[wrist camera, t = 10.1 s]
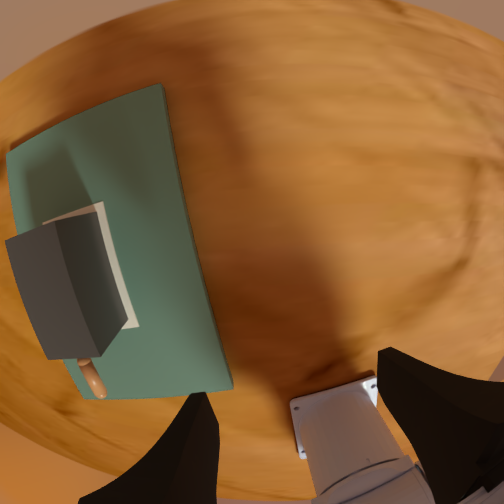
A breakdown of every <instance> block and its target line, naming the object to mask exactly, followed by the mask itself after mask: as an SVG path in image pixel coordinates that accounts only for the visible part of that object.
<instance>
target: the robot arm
mask: <svg viewBox="0 0 504 504" xmlns="http://www.w3.org/2000/svg"><path fill="white" fill-rule="evenodd" d="M371 385H372V386H371ZM378 391H379V393H380V395H381V397H382V399H383V401H384V403H385V405H386V407H387V408H388V410H389V411H390V413H391V414H392V416H393V417H394V419H395V420H396V421H397V423H398V424H399V426H400V427H401V429H402V430H403V432H404V433H405V435H406V436H407V438H408V439H409V441H410V443H411V444H412V446H413V448H414V450H415V452H416V454H417V457H418V459H419V461H417V462H415V464H414V463H413V462H412V460H411V458H410V457H409V455H406V456H405V455H404V454H403V452H402V450H401V449H400V447H399V445H398V443H397V442H396V440H395V438H394V437H393V435H392V433H391V432H390V430H389V428H388V427H387V425H386V423H385V422H384V420H383V418H382V417H381V415H380V413H379V412H378V410H377V408H376V403H377V392H378ZM295 407H297V408H295ZM290 409H291V414H292V419H293V425H294V430H295V435H296V441H297V446H298V452H299V457H300V458H301V459H306V458H307V461H308V465H309V468H310V472H311V476H312V480H313V483H314V487H315V491H316V494H317V497H316V498H314V499H312V500H311V503H312V504H504V382H492V381H484V380H477V379H472V378H468V377H464V376H460V375H456V374H453V373H450V372H447V371H444V370H441V369H439V368H436V367H434V366H431V365H429V364H426V363H424V362H422V361H420V360H418V359H415V358H413V357H411V356H409V355H407V354H405V353H403V352H401V351H399V350H397V349H395V348H392V347H388V348H386V349H383V350H380V351H378V365H377V377H376V376H370V377H367V378H365V379H362V380H359V381H355V382H352V383H349V384H346V385H343V386H339V387H336V388H333V389H329V390H326V391H322V392H318V393H314V394H311V395H307V396H303V397H298V398H294V399H292V400H291V401H290ZM219 449H220V437H219V423H218V421H217V419H216V416H215V414H214V412H213V409H212V407H211V404H210V402H209V399H208V397H207V395H206V392H197V393H191V394H190V395H189V397H188V398H187V400H186V401H185V403H184V404H183V406H182V408H181V409H180V411H179V412H178V414H177V415H176V417H175V418H174V420H173V421H172V423H171V424H170V425H169V427H168V428H167V430H166V431H165V432H164V434H163V435H162V436H161V437H160V439H159V440H158V441H157V442H156V444H155V445H154V446H153V447H152V448H151V449H150V450H149V451H148V453H147V454H146V455H145V456H144V457H143V458H142V459H140V460H139V461H138V462H137V463H136V464H135V465H134V466H132V467H131V468H130V469H129V470H127V471H126V472H125V473H124V474H122V475H121V476H120V477H118V478H117V479H115V480H114V481H112V482H110V483H109V484H107V485H106V486H104V487H102V488H100V489H98V490H96V491H94V492H92V493H90V494H88V495H86V496H84V497H81V498H80V499H79V501H78V504H217V499H216V485H217V473H218V461H219Z"/></svg>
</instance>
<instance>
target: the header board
mask: <svg viewBox="0 0 504 504" xmlns="http://www.w3.org/2000/svg"><path fill="white" fill-rule="evenodd" d="M6 162H7V173H8V182H9V190H10V197H11V203H12V209H13V214H14V220H15V225H16V229H17V234H18V235H19V234H22V233H24V232H27V231H29V230H32V229H34V228H37V227H39V226H42V225H44V224H47V223H50V222H52V221H55V220H60V219H64V218H68V217H73V216H78V215H82V214H87V213H92V212H97V214H98V219H99V223H100V227H101V231H102V235H103V239H104V243H105V247H106V251H107V254H108V258H109V261H110V265H111V268H112V272H113V275H114V278H115V281H116V285H117V288H118V291H119V294H120V297H121V300H122V303H123V305H124V308H125V311H126V314H127V317H128V321H127V322H126V323H125V325H124V326H123V327H122V329H121V330H120V331H119V333H118V334H117V335H116V337H115V338H114V339H113V341H112V342H111V344H110V345H109V346H108V348H107V349H106V351H105V352H104V353H103V355H102V356H101V357H96V358H91V360H92V362H93V364H94V366H95V368H96V370H97V372H98V374H99V376H100V378H101V379H102V381H103V383H104V385H105V387H106V389H107V396H106V397H105V398H103V399H145V398H162V397H174V396H185V395H190V394H191V393H197V392H206V393H211V392H218V391H225V390H231V389H233V379H232V376H231V372H230V369H229V366H228V363H227V359H226V356H225V353H224V349H223V346H222V343H221V339H220V336H219V332H218V329H217V325H216V322H215V318H214V315H213V311H212V308H211V304H210V300H209V297H208V293H207V289H206V285H205V281H204V278H203V274H202V270H201V266H200V262H199V258H198V254H197V250H196V246H195V241H194V237H193V233H192V229H191V224H190V220H189V216H188V211H187V207H186V202H185V198H184V193H183V188H182V183H181V179H180V174H179V169H178V164H177V159H176V154H175V148H174V143H173V138H172V132H171V126H170V121H169V115H168V109H167V103H166V97H165V90H164V87H163V86H162V84H161V83H159V84H156V85H152V86H149V87H146V88H143V89H140V90H137V91H134V92H131V93H128V94H125V95H123V96H120V97H117V98H115V99H112V100H109V101H107V102H104V103H102V104H100V105H97V106H95V107H92V108H90V109H88V110H86V111H83V112H81V113H79V114H77V115H75V116H73V117H70V118H68V119H66V120H64V121H62V122H60V123H58V124H56V125H54V126H52V127H51V128H49V129H47V130H45V131H43V132H41V133H40V134H38V135H36V136H34V137H32V138H31V139H29V140H27V141H26V142H24V143H22V144H21V145H19V146H17V147H16V148H14V149H13V150H11V151H10V152H8V153H7V154H6ZM62 360H63V362H64V364H65V366H66V367H67V369H68V371H69V373H70V375H71V377H72V379H73V380H74V382H75V384H76V386H77V388H78V389H79V391H80V393H81V394H82V396H83V398H84V399H100V398H97V397H96V396H95V395H94V393H93V392H92V390H91V388H90V386H89V385H88V383H87V381H86V379H85V377H84V375H83V373H82V372H81V370H80V368H79V366H78V363H77V359H62Z"/></svg>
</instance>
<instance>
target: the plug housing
mask: <svg viewBox="0 0 504 504" xmlns="http://www.w3.org/2000/svg"><path fill="white" fill-rule="evenodd" d="M5 244H6V248H7V252H8V256H9V259H10V263H11V267H12V270H13V273H14V277H15V280H16V283H17V286H18V289H19V292H20V295H21V298H22V301H23V303H24V306H25V309H26V311H27V314H28V316H29V319H30V321H31V324H32V326H33V329H34V331H35V333H36V336H37V338H38V340H39V342H40V344H41V346H42V349H43V351H44V353H45V355H46V357H47V359H48V360H56V359H77V363H78V366H79V368H80V370H81V372H82V373H83V375H84V377H85V379H86V381H87V383H88V385H89V386H90V388H91V390H92V392H93V393H94V395H95V396H96V397H97V398H100V399H103V398H105V397H106V396H107V389H106V387H105V385H104V383H103V381H102V379H101V378H100V376H99V374H98V372H97V370H96V368H95V366H94V364H93V362H92V360H91V358H96V357H101V356H102V355H103V353H104V352H105V351H106V349H107V348H108V346H109V345H110V344H111V342H112V341H113V339H114V338H115V337H116V335H117V334H118V333H119V331H120V330H121V329H122V327H123V326H124V325H125V323H126V322H127V321H128V317H127V314H126V311H125V308H124V305H123V303H122V300H121V297H120V294H119V291H118V288H117V285H116V281H115V278H114V275H113V272H112V268H111V265H110V261H109V258H108V254H107V251H106V247H105V243H104V239H103V235H102V231H101V227H100V223H99V219H98V214H97V212H92V213H87V214H82V215H78V216H73V217H68V218H64V219H60V220H55V221H52V222H50V223H47V224H44V225H42V226H39V227H37V228H34V229H32V230H29V231H27V232H24V233H22V234H19V235H17V236H15V237H12V238H10V239H8V240H5Z"/></svg>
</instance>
